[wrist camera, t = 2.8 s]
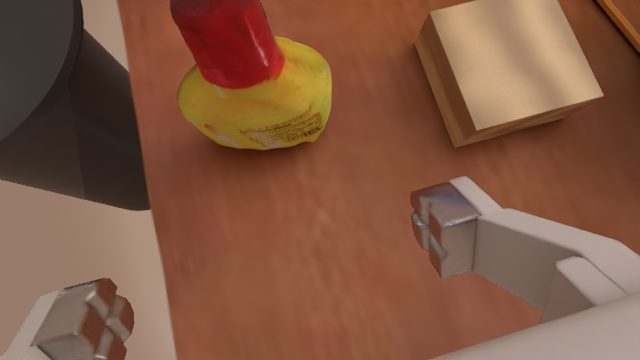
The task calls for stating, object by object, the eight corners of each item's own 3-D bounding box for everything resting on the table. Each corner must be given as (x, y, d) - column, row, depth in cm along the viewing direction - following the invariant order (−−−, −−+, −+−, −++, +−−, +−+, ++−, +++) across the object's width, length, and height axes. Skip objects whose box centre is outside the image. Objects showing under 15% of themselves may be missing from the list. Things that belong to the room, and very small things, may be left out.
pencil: (666, 67, 36) (555, -67, 40) (667, 67, 35) (553, -69, 39) (655, 73, 37) (547, -59, 40) (655, 73, 36) (544, -62, 39)
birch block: (453, 148, 35) (476, 130, 30) (414, 43, 37) (429, 11, 32) (564, 117, 35) (604, 95, 30) (518, 17, 38) (549, -18, 33)
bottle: (212, 166, 34) (70, 46, 14) (207, 105, 35) (71, -80, 16) (333, 149, 34) (357, 12, 15) (324, 90, 36) (334, -108, 16)
